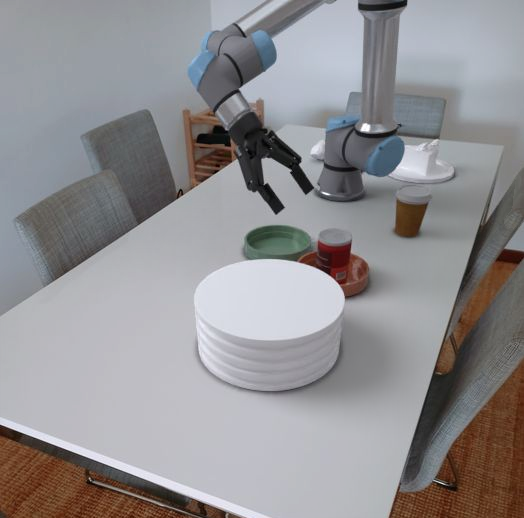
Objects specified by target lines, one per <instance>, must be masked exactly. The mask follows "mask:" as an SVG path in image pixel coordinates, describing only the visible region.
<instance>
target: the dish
mask: <svg viewBox="0 0 524 518" xmlns="http://www.w3.org/2000/svg"><path fill="white" fill-rule="evenodd" d="M439 143H440V140H439V139H438V138H436V139H433V141H432V142H430V143H429V141H427V142H422V143H421V144H418V145H409V144H405V151H404V155H403V158H402V160H401V162H400V164H399V165H398V166H397V167H396V169H395V170H394V171H393V172H392V173H390V174H389V175H388V177H391V178H392V179H396V180H398V181H399V180H400V181H402V182H406V183H415V184H436V183H443V182H447V181H449V180H451V179H452V178H453V177H454V175H455V168H454V166H453V165H451V164H450V163H448V162H446V161H443V160H441V159H438V155H439V151H440V146H436V145H438V144H439Z"/></svg>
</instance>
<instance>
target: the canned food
mask: <svg viewBox="0 0 524 518" xmlns="http://www.w3.org/2000/svg"><path fill="white" fill-rule="evenodd" d="M317 236H318V237H317V246H316V251H317V259H316V268H317V269H319V270H321V271H323V272H324V273H326V274H328V275H329V276H330V277H332V278H333V279H334V280H335V281H336V282H337V283H338V284H342V283H344V282H345V281H346V279H347V277H348V269H349V262H350V254H351V253H352V245H353V235H352V233H351V232H349V231H348V230H345V229H341V228H327V229H324V230H321V231H320V232H319V233H318V235H317Z"/></svg>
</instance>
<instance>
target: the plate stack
mask: <svg viewBox="0 0 524 518" xmlns="http://www.w3.org/2000/svg"><path fill="white" fill-rule="evenodd" d="M193 304H194V305H193V306H194V315H195V327H196V334H197V335H196V336H197V346H198V354H199V358H200V360H201V362H202V364H203V365H204V366H205V367H206V369H207V370H208V371H209V372H210V373H211V374H213V375H214V376H216V377H217V378H218V379H220V380H221V381H224V382H226V383H228V384H230V385H233V386H235V387H238V388H242V389H246V390H252V391H257V392H258V391H259V392H279V391H287V390H292V389H293V390H294V389H297V388H300V387H304V386H307V385H309V384H312V383H313V382H316V381H317V380H319V379H320V378H322V377H323V376H325V375H326V374H327V373H328V372H329V371H330V370H331V369H332V368H333V366H335V364H336V362H337V360H338V357H339V353H340V343H341V335H342V329H343V320H344V312H345V305H346V297H345V296H344V293H343V290H342V289H341V287H340V285H339V284H338V283H337V282H336V281H335V280H334V279H333V278H332V277H330V276H329V275H328V274H326V273H324V272H323V271H321V270H319V269H317V268H314V267H312V266H309V265H306V264H302V263H298V262H294V261H288V260H278V259H258V260H251V259H249V260H243V261H239V262H235V263H231V264H227V265H225V266H223V267H220V268H218V269H216V270H214V271H213V272H211V273H210V274H208V275H207V276H206V277H204V278H203V279H202V281H201V282H200V283H199V284H198V285H197V287H196V289H195V291H194V295H193Z"/></svg>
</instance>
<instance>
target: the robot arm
mask: <svg viewBox="0 0 524 518" xmlns="http://www.w3.org/2000/svg"><path fill="white" fill-rule="evenodd" d="M336 1H337V0H265V1H264V2H262V3H261V4H259V5H257V6H256V7H254V8H253V9H251V10H250V11H249V12H247V13H246V14H245V15H244V14H243V16H241V17H240V18H238V19H237V20H235V21H233V22H232V23H230V24H229V25H227V26H226V27H224V28H223V29H221V30H217V29H215V30H211V31H209V32H207V33H206V34H204V36H203V38H202V40H201V43H200V53H198V54H197V55H196V56H194V58H192V60H191V61H190V63H189V64H188V67H187V73H186V74H187V77H188V78H189V80H190V82H191V83H192V85H193V87H194V89H195V91H196V92H197V93H198V94H199V95H200V97H201V98H202V99H203V102H205V104H206V105H207V106H208V108H209V109H210V111H211V112H212V114H213V115H214V116H215V117H216V119H217V120H218V122H219V123H220V125H221V126H222V128H223V129H224V130H225V131H227V135H228V137H229V138H230V139H231V141H232V143H234V145H235V146H236V148H234V150H233V154H234V156H235V157H236V159H237V161H238V165H239V168H240V171H241V175H242V177H243V180H244V183H245V186H246V189H247V191H249V192H252V193H253V194H254V193H258V194H259V195H260V197H261V198H262V200H263V201H264V202H265V203H266V204H267V205H268V206H269V208H270V209H271V212H273V214H274V215H275V216H277V215H279V214H280V213H281V212H282V211H283V210H284V209H286V206H285V205H284V203H283V202H282V201H281V200H280V198H279V196H278V195H277V194H276V192H275V191H274V189H273V188H272V186H271V185H270V184H269V182H266V183H265V178H264V170H263V162H262V161H263V160H264V159H271V160H274V162H276V163H278V164H280V165H282V166H283V167H285V168H287V169H289V170H290V172H289V174H290V176H291V177H292V178H293V179H294V182H296V184H297V186H298V187H299V188H300V189H301V191H302V192H303V194H304V195H305V196H307V195H309V193H311V192H312V191H314V189H315V193H316V195H318V197H320V198H323V199H325V200H329V201H333V202H352V201H356V200H358V199H360V198H362V197H363V196H364V190H365V187H364V182H363V176H362V172H364V173H366V174H367V175H369V176H374V177H376V178H385V177H387V176H389V174H390V173H392V172H393V171H394V170H395V169H396V167H397V166H398V165H399V164H400V162H401V160H402V158H403V155H404V151H405V145H406V144H405V142H404V140H403V139H402V138H401V137H400V136H399V135H398V126H399V127H402V124H401V123H400V124H398V123H399V122H398V121H397V120H396V119H395V118H394V105H395V92H396V91H395V89H396V75H397V65H398V63H397V62H398V50H399V49H398V47H399V37H400V20H401V15H402V13H403V12H404V10H405V9H406V8H407V7H408V0H357V11H358V12H359V13H360V15H361V16H362V18H363V31H362V33H363V35H362V63H361V64H362V68H361V94H360V95H361V97H360V98H361V100H360V104H361V105H360V114H345V115H343V114H342V115H336V116H332V117H330V118H329V119H328V120H327V121H326V127H325V128H326V129H325V133H324V134H325V136H324V140H325V151H324V159H323V166H322V169H321V172H320V175H319V176H318V177H319V178H318V180H317V182H316V184H315V186H314V185H313V184H312V182H311V181H310V179H309V178H308V176H307V175H306V173H305V171H304V170H303V169H302V167H301V166H300V164H301V163H302V162H303V161H302V156H301V155H300V154H298V153H297V152H296V151H295V150H294V149H293V148H292V147H291V146H290V145H288V144H287V143H286V142H285V141H284V140H282V139H281V138H279V136H278V135H277V133H276V132H275V131H274V130H273V129H270V130H269V131H268V132H267V133H265V132H264V131H263V128H264V124H263V122H262V119H260V117H259V116H258V115H257V113H256V112H255V111H253V107H252V106H251V104H250V103H249V102H248V100H247V99H246V97H245V95H244V94H243V93H242V91H241V90H240V89H241V88H242V87H244V86H245V85H246V84H248V83H250V81H253V80H254V79H255V78H257V77H259V76H260V75H261V74H263V73H265V72H266V71H267V70H268V69H270V68H271V67H272V66H274V64H275V63H276V62H277V58H278V53H277V48H276V45H275V42H274V41H273V39H274V38H276V37H277V36H278V35H280V34H281V33H283V32H284V31H285V30H287V29H288V28H290V27H291V26H294V24H296V23H297V22H299V21H301V19H304V18H305V17H306V16H308V15H310V14H311V13H313V12H314V11H315V10H317V9H319V8H320V7H321V6H323V5H325V4H326V5H332V4H334V3H335V2H336Z"/></svg>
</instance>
